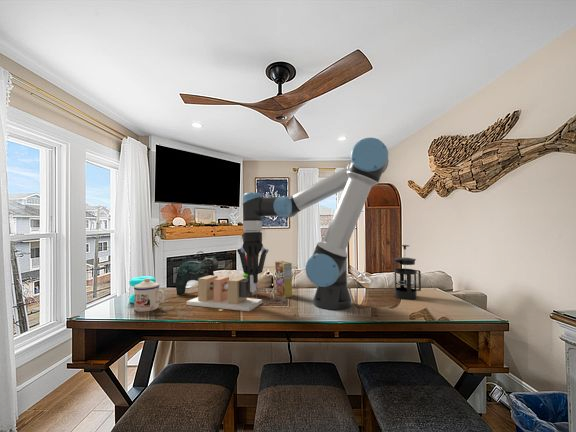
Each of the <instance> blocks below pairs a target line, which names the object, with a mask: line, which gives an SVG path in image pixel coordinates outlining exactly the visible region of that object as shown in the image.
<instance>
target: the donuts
mask: <svg viewBox="0 0 576 432" xmlns="http://www.w3.org/2000/svg"><path fill="white" fill-rule="evenodd" d="M145 278H149V279H150V281H153V282H155V283H156V278H155V277H154V276H149V275H146V276H145V275H143V276H136V277H132V278H131V279H130V280H129V282H128V283H129V285H130V286H131V287H133V288H134V286H135V285H137V284H140V283H141V282H143V281H144V279H145ZM128 299H129V302H130V303H131V304H134V293H132V294H131V295H130V296H129V298H128Z"/></svg>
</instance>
